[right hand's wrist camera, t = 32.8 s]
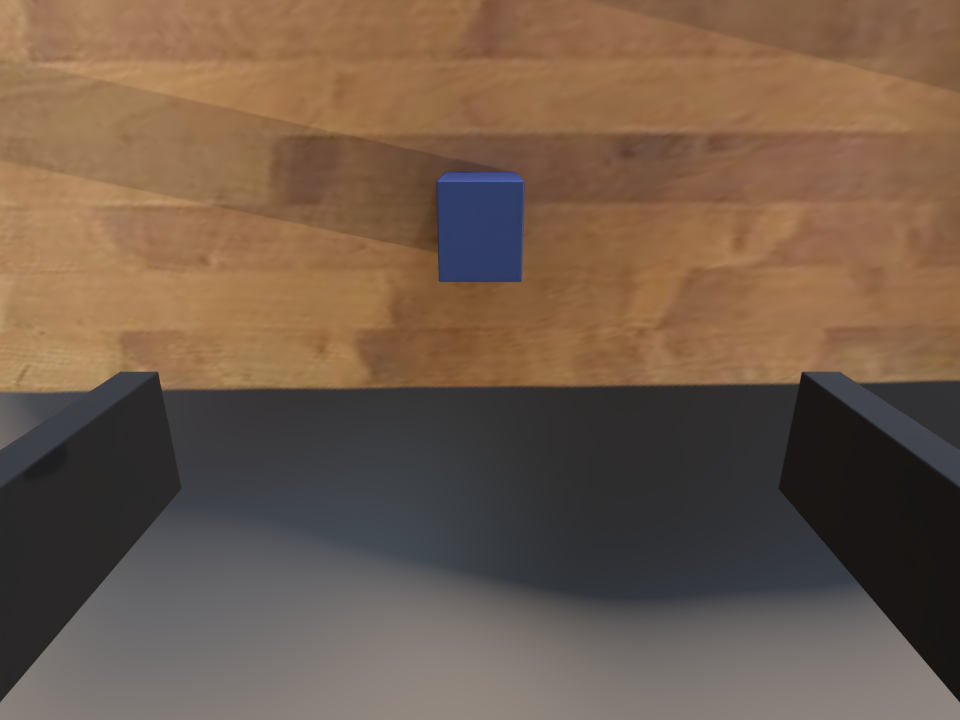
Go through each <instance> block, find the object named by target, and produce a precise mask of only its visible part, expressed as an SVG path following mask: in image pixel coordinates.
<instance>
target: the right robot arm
mask: <svg viewBox="0 0 960 720" xmlns="http://www.w3.org/2000/svg"><path fill="white" fill-rule="evenodd" d="M180 490H181V484H180V479H179V474H178V469H177V464H176V459H175V454H174V449H173V444H172V439H171V434H170V429H169V424H168V419H167V414H166V409H165V404H164V399H163V395H162V389H161V385H160V380H159V375H158V372H119V373H118V374H116V375H115V376H113V377H112V378H110V379H109V380H107V381H106V382H104V383H103V384H101V385H100V386H98V387H96V388H95V389H93V390H92V391H90V392H89V393H87V394H86V395H84V396H83V397H81V398H80V399H78V400H77V401H75V402H74V403H72V404H71V405H69V406H67V407H66V408H64V409H63V410H61V411H60V412H58V413H57V414H55V415H54V416H52V417H51V418H49V419H48V420H46V421H45V422H43V423H41V424H40V425H38V426H37V427H35V428H34V429H32V430H31V431H29V432H28V433H26V434H25V435H23V436H22V437H20V438H19V439H17V440H15V441H14V442H12V443H11V444H9V445H8V446H6V447H5V448H3V449H2V450H0V702H1V701H2V699H3V698H4V697H5V696H6V695H7V694H8V692H9V691H10V690H11V689H12V688H13V687H14V685H15V684H16V683H17V682H18V681H19V679H20V678H21V677H22V676H23V675H24V674H25V672H26V671H27V670H28V669H29V668H30V666H31V665H32V664H33V663H34V662H35V661H36V659H37V658H38V657H39V656H40V655H41V653H42V652H43V651H44V650H45V649H46V648H47V646H48V645H49V644H50V643H51V642H52V641H53V639H54V638H55V637H56V636H57V635H58V633H59V632H60V631H61V630H62V629H63V628H64V626H65V625H66V624H67V623H68V622H69V620H70V619H71V618H72V617H73V616H74V615H75V613H76V612H77V611H78V610H79V609H80V608H81V606H82V605H83V604H84V603H85V602H86V600H87V599H88V598H89V597H90V596H91V594H92V593H93V592H94V591H95V590H96V589H97V588H98V586H99V585H100V584H101V583H102V582H103V580H104V579H105V578H106V577H107V576H108V575H109V573H110V572H111V571H112V570H113V569H114V567H115V566H116V565H117V564H118V563H119V562H120V560H121V559H122V558H123V557H124V556H125V554H126V553H127V552H128V551H129V550H130V549H131V547H132V546H133V545H134V544H135V543H136V542H137V540H138V539H139V538H140V537H141V536H142V534H143V533H144V532H145V531H146V530H147V528H148V527H149V526H150V525H151V524H152V523H153V521H154V520H155V519H156V518H157V517H158V516H159V514H160V513H161V512H162V511H163V510H164V509H165V507H166V506H167V505H168V504H169V503H170V501H171V500H172V499H173V498H174V497H175V495H176V494H177V493H178V492H179V491H180ZM779 490H780V491H781V492H782V493H783V494H784V496H785V497H786V498H787V499H788V500H789V501H790V503H791V504H792V505H793V506H794V507H795V509H796V510H797V511H798V512H799V513H800V514H801V516H802V517H803V518H804V519H805V520H806V521H807V523H808V524H809V525H810V526H811V527H812V528H813V530H814V531H815V532H816V533H817V534H818V536H819V537H820V538H821V539H822V540H823V542H824V543H825V544H826V545H827V546H828V547H829V549H830V550H831V551H832V552H833V553H834V554H835V556H836V557H837V558H838V559H839V560H840V562H841V563H842V564H843V565H844V566H845V567H846V569H847V570H848V571H849V572H850V573H851V574H852V576H853V577H854V578H855V579H856V580H857V582H858V583H859V584H860V585H861V586H862V588H863V589H864V590H865V591H866V592H867V593H868V594H869V596H870V597H871V598H872V599H873V600H874V602H875V603H876V604H877V605H878V606H879V608H880V609H881V610H882V611H883V612H884V613H885V615H886V616H887V617H888V618H889V619H890V620H891V622H892V623H893V624H894V625H895V626H896V628H897V629H898V630H899V631H900V632H901V633H902V635H903V636H904V637H905V638H906V639H907V640H908V642H909V643H910V644H911V645H912V646H913V648H914V649H915V650H916V651H917V652H918V654H919V655H920V656H921V657H922V658H923V659H924V661H925V662H926V663H927V664H928V665H929V666H930V668H931V669H932V670H933V671H934V672H935V674H936V675H937V676H938V677H939V678H940V679H941V681H942V682H943V683H944V684H945V685H946V687H947V688H948V689H949V690H950V691H951V692H952V694H953V695H954V696H955V697H956V698H957V699H958V701H959V702H960V450H958V449H957V448H955V447H954V446H952V445H951V444H949V443H948V442H946V441H945V440H943V439H941V438H940V437H938V436H937V435H935V434H934V433H932V432H931V431H929V430H928V429H926V428H925V427H923V426H922V425H920V424H919V423H917V422H915V421H914V420H912V419H911V418H909V417H908V416H906V415H905V414H903V413H902V412H900V411H899V410H897V409H896V408H894V407H893V406H891V405H889V404H888V403H886V402H885V401H883V400H882V399H880V398H879V397H877V396H876V395H874V394H873V393H871V392H870V391H868V390H867V389H865V388H864V387H862V386H860V385H859V384H857V383H856V382H854V381H853V380H851V379H850V378H848V377H847V376H845V375H844V374H842V373H841V372H802V375H801V380H800V385H799V390H798V395H797V399H796V404H795V410H794V414H793V419H792V424H791V429H790V434H789V439H788V444H787V449H786V454H785V459H784V464H783V469H782V474H781V479H780V484H779Z"/></svg>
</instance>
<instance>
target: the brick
mask: <svg viewBox="0 0 960 720" xmlns="http://www.w3.org/2000/svg"><path fill="white" fill-rule="evenodd" d="M523 217H524V181H523V180H522V179H521V178H520V176H519V175H518V174H517V173H515V172H446V173H444V174H443V176H442V177H441V178H440V179H439V180H438V181H437V220H438V261H439V281H440V282H521V281H522V257H523Z"/></svg>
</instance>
